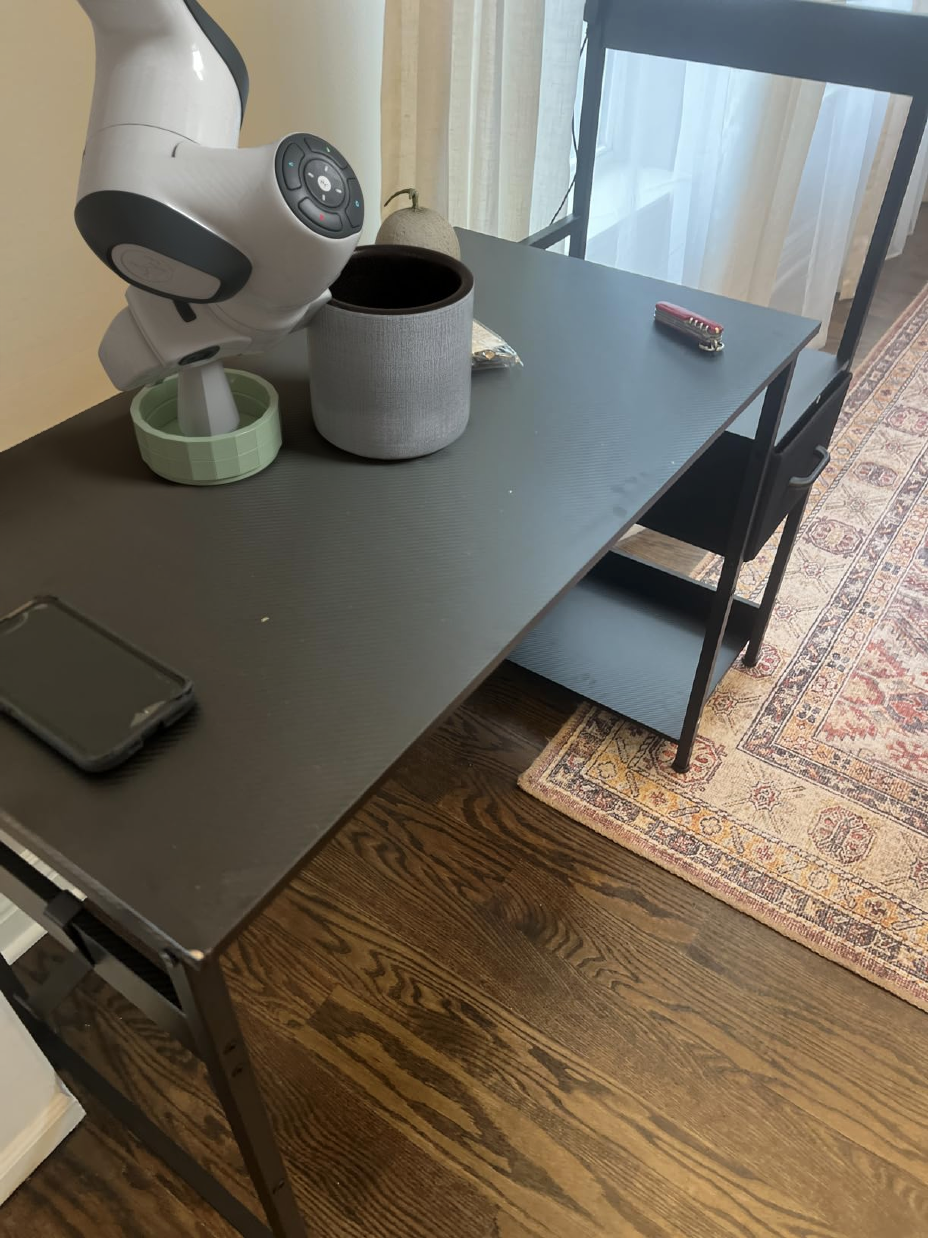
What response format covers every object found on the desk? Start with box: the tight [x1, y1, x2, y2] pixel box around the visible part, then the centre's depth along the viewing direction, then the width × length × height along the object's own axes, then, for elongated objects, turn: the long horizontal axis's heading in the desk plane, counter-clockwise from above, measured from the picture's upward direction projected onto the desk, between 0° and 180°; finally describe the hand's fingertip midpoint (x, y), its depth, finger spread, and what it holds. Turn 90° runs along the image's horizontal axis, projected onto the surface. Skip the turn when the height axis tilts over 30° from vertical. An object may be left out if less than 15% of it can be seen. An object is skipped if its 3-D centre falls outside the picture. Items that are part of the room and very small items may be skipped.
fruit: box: [374, 187, 461, 262], centre depth 112 cm, size 10×12×15 cm
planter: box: [305, 243, 475, 461], centre depth 90 cm, size 16×16×16 cm
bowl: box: [129, 367, 284, 486], centre depth 90 cm, size 14×14×5 cm
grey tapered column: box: [177, 358, 240, 437], centre depth 86 cm, size 6×6×13 cm
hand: (195, 361), depth 85 cm, fingers open, 8 cm apart
